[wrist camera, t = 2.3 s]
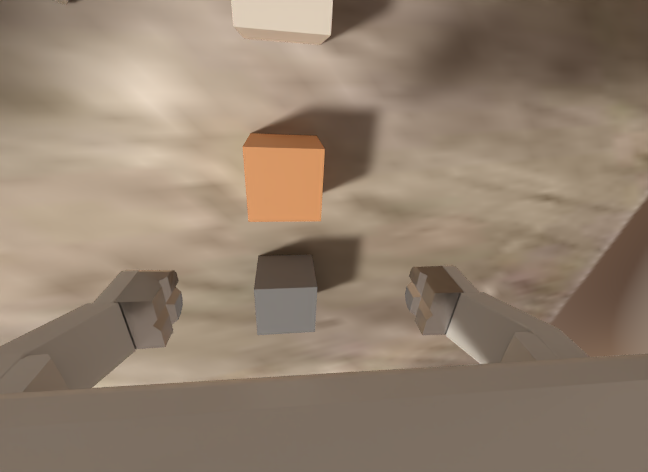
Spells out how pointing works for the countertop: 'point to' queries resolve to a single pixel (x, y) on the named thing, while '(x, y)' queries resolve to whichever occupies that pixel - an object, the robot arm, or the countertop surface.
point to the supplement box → (62, 1)
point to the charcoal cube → (285, 294)
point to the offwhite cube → (283, 20)
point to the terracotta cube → (283, 177)
